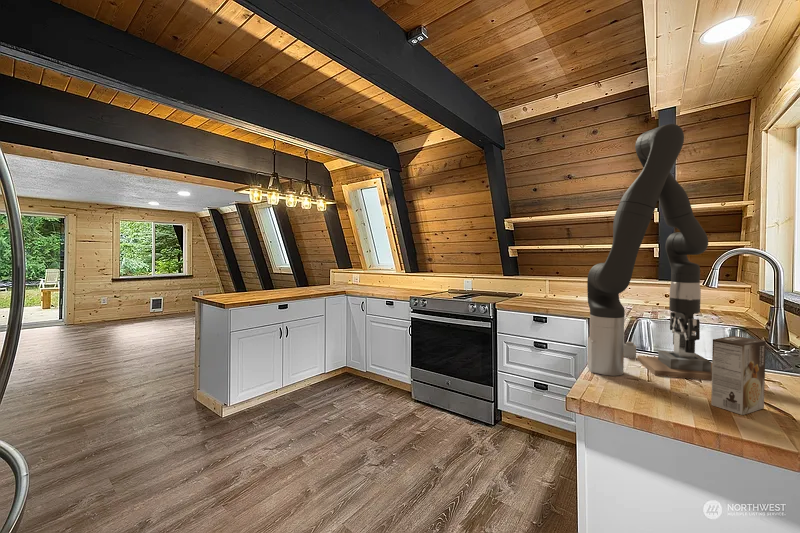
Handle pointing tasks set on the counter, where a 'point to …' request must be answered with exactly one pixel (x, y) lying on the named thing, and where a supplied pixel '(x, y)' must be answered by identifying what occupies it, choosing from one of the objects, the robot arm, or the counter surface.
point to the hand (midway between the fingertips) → (683, 349)
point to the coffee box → (738, 374)
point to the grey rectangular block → (629, 350)
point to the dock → (671, 372)
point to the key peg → (681, 347)
